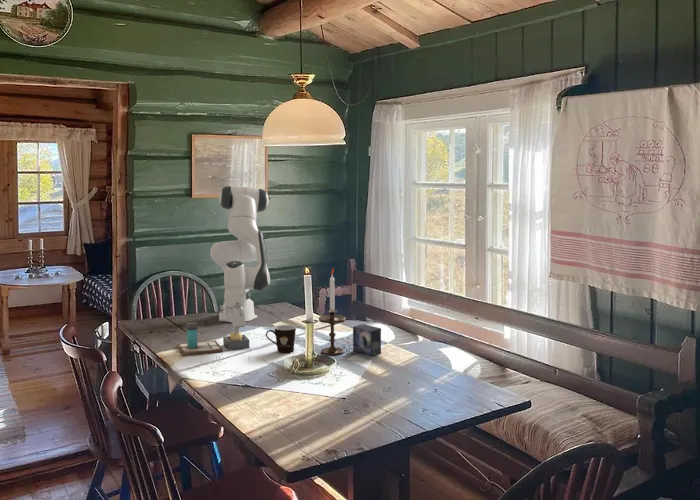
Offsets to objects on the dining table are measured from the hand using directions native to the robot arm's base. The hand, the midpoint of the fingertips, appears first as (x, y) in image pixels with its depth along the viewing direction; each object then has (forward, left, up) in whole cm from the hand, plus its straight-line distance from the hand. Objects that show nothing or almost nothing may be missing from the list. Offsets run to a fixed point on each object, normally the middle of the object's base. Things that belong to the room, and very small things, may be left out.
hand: (236, 333), depth 282 cm
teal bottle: (0, -18, -4) cm, 19 cm away
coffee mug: (+14, +16, -6) cm, 22 cm away
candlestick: (+24, +34, -6) cm, 42 cm away
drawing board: (-1, -15, -6) cm, 16 cm away
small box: (+29, +47, -6) cm, 55 cm away
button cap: (0, 0, -4) cm, 4 cm away
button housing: (0, 0, -6) cm, 6 cm away
